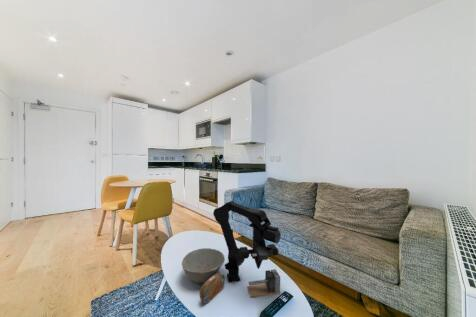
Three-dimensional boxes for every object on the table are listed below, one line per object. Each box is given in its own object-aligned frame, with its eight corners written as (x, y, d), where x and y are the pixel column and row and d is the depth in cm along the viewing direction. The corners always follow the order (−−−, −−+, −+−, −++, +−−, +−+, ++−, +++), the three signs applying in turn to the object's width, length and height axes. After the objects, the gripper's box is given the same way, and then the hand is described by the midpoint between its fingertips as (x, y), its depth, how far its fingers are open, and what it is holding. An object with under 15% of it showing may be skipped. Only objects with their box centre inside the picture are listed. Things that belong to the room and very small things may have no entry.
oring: (265, 282, 95) (265, 270, 95) (269, 282, 96) (269, 270, 96) (269, 292, 89) (270, 279, 89) (274, 291, 90) (274, 278, 89)
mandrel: (246, 287, 94) (247, 271, 93) (274, 283, 97) (275, 268, 96) (250, 298, 87) (250, 281, 87) (280, 293, 90) (280, 277, 90)
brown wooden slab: (203, 307, 81) (203, 289, 81) (198, 304, 83) (198, 286, 83) (225, 287, 93) (225, 271, 93) (220, 284, 95) (220, 268, 95)
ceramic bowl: (172, 280, 98) (172, 261, 98) (204, 259, 117) (204, 244, 116) (202, 300, 85) (202, 279, 85) (232, 273, 104) (232, 256, 104)
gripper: (243, 246, 80) (243, 281, 81) (283, 243, 84) (283, 276, 85) (238, 235, 91) (238, 266, 92) (274, 232, 95) (273, 262, 96)
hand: (258, 268), depth 91 cm, fingers closed
